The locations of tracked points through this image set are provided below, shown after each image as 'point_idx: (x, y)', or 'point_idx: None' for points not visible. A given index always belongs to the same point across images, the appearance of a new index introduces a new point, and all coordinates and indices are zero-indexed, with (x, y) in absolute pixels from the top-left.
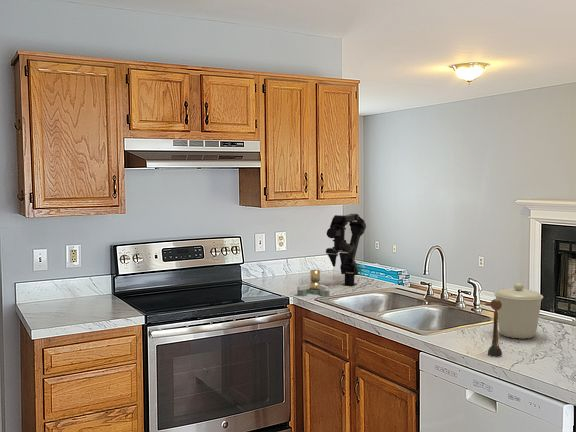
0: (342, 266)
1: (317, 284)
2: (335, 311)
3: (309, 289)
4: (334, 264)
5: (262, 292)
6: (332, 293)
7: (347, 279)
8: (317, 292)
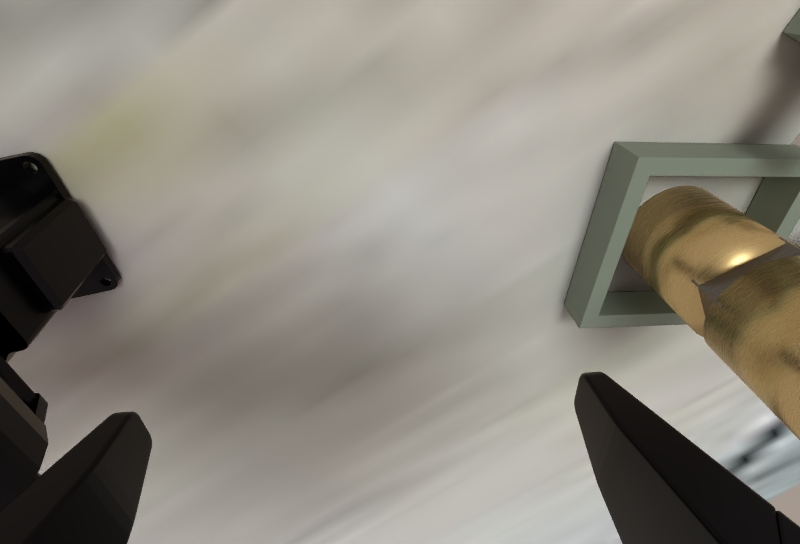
0: (5, 482)
1: (776, 235)
2: None
3: (656, 303)
4: (647, 413)
5: (793, 453)
6: (652, 40)
7: (50, 255)
8: (789, 151)
